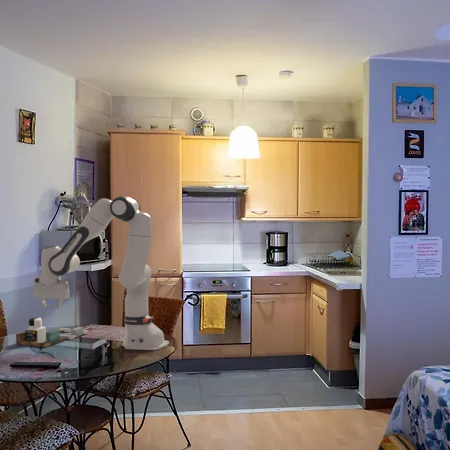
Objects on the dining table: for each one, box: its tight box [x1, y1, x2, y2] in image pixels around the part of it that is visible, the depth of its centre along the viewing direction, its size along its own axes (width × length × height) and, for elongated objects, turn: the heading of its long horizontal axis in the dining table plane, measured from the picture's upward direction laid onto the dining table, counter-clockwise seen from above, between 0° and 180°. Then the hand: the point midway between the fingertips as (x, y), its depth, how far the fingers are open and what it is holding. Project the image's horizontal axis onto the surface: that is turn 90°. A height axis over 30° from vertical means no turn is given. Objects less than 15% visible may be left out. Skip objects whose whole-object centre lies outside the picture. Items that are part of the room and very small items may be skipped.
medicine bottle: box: [24, 317, 47, 343], centre depth 236 cm, size 7×7×12 cm
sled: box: [15, 329, 66, 348], centre depth 235 cm, size 18×14×6 cm
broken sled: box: [58, 326, 89, 340], centre depth 249 cm, size 19×14×4 cm
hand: (51, 307), depth 232 cm, fingers open, 8 cm apart
